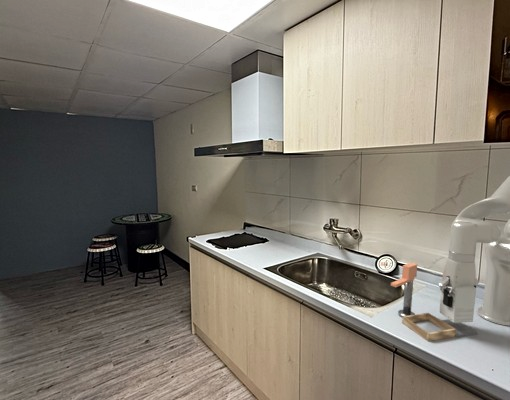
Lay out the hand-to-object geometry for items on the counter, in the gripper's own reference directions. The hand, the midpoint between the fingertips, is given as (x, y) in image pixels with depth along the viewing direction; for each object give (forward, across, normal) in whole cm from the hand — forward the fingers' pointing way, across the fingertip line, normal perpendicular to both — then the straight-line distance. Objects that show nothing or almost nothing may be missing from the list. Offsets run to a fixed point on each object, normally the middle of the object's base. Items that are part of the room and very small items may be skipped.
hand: (457, 304), depth 103 cm
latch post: (+9, +10, -12) cm, 18 cm away
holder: (+9, +10, -2) cm, 14 cm away
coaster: (+9, 0, 0) cm, 9 cm away
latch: (-5, +14, -11) cm, 18 cm away
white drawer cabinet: (+5, 0, 0) cm, 5 cm away
